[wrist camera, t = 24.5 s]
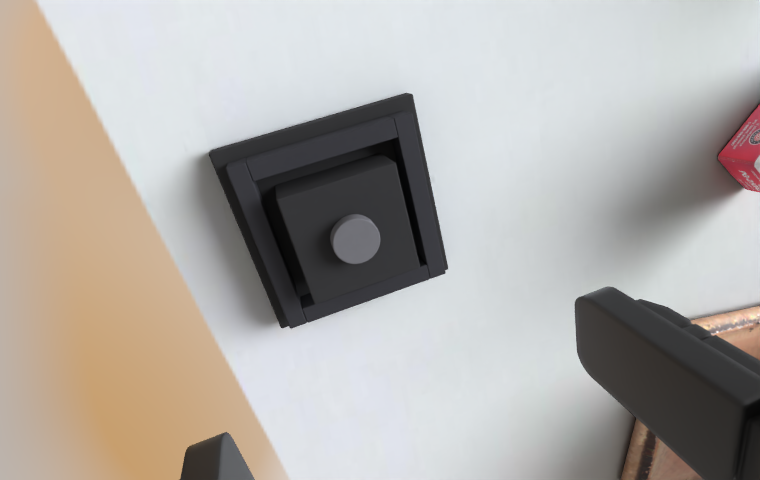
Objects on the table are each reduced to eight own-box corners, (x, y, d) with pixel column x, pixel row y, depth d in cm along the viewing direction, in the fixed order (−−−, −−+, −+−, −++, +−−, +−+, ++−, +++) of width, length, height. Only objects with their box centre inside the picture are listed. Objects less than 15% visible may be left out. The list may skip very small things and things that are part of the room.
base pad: (280, 320, 27) (282, 343, 25) (210, 150, 22) (204, 158, 20) (442, 263, 28) (458, 279, 26) (407, 92, 24) (422, 94, 22)
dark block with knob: (308, 280, 25) (316, 312, 22) (274, 184, 23) (276, 204, 19) (404, 247, 26) (425, 274, 23) (380, 152, 24) (400, 165, 20)
